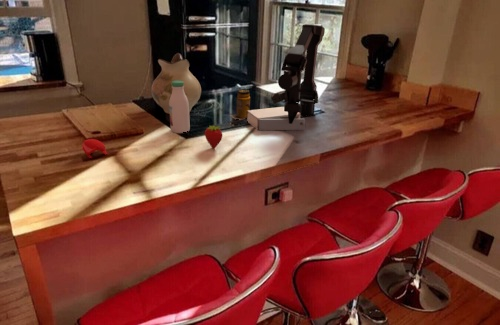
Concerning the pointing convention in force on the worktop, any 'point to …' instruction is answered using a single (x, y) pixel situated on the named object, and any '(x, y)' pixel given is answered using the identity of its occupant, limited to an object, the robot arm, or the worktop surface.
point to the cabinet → (267, 115)
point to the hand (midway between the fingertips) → (290, 123)
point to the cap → (93, 147)
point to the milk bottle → (179, 109)
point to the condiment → (242, 104)
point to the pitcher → (175, 73)
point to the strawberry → (213, 135)
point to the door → (280, 124)
